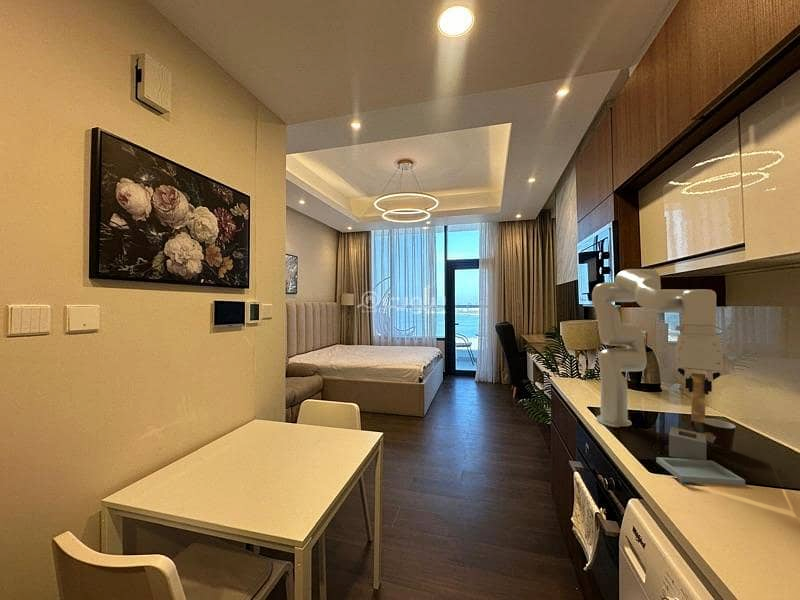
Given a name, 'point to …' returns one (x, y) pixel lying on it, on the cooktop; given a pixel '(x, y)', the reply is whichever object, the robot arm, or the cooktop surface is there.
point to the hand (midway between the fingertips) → (698, 391)
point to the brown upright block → (698, 398)
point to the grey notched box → (687, 444)
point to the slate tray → (699, 472)
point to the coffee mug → (718, 435)
